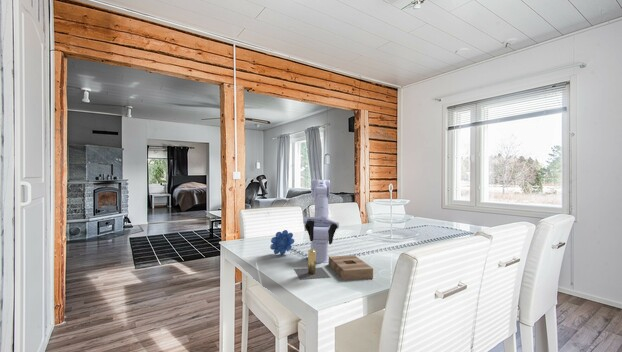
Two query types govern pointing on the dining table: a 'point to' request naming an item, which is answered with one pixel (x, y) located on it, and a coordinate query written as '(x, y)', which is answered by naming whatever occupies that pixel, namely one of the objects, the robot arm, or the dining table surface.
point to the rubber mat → (304, 274)
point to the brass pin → (311, 261)
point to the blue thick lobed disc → (282, 242)
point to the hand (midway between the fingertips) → (321, 241)
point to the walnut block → (350, 267)
